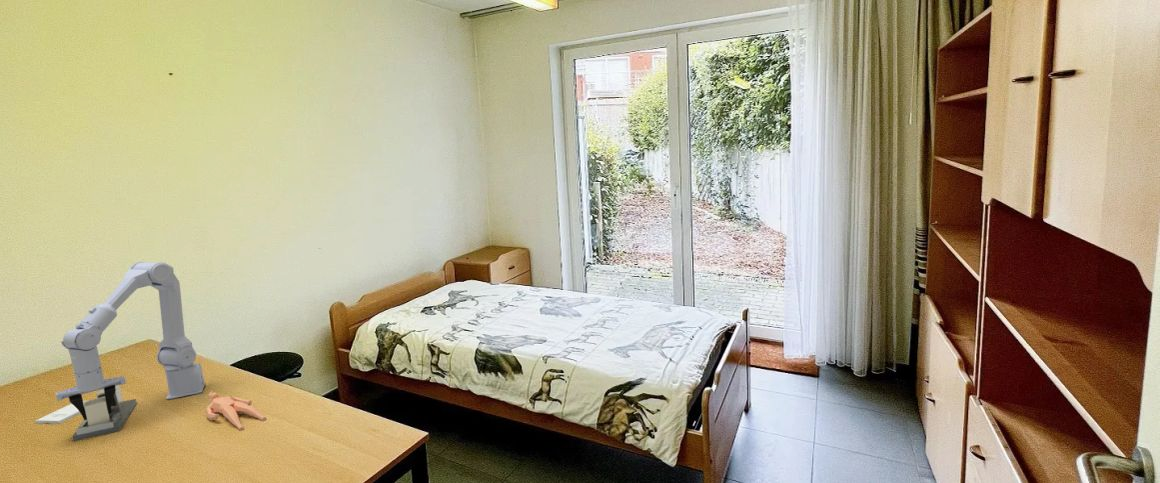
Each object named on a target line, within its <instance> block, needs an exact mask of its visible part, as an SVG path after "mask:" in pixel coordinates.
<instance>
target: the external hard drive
mask: <svg viewBox="0 0 1160 483" xmlns="http://www.w3.org/2000/svg"><path fill="white" fill-rule="evenodd" d="M85 401H86V400H83V404H84V402H85ZM78 415H81V413H80V412H79V410H78V409H77V408H76V407H75V406H74V405H73V404H71V403H70V404H67V405H65V406H64V407H61V408H59V409H57V410H55V411H53V412H50V413H48V414H47V415H44V416H43V417H40V418H39V419H36V420H34V423H35V424H42V425H43V424H52V425H53V424H55V425H56V424H58V425H60V424H62V423H63V422H65V421H68V420H70V419H72V418H74V417H76V416H78Z"/></svg>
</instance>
